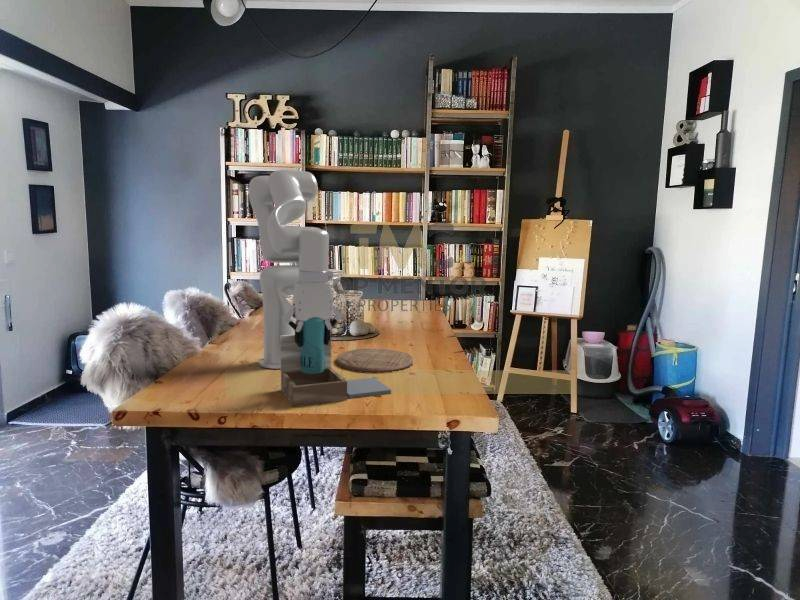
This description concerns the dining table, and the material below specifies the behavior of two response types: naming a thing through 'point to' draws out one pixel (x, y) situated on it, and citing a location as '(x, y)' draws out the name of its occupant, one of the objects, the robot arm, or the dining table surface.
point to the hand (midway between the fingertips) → (312, 344)
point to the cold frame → (309, 377)
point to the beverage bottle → (312, 346)
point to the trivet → (374, 360)
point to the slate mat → (366, 388)
